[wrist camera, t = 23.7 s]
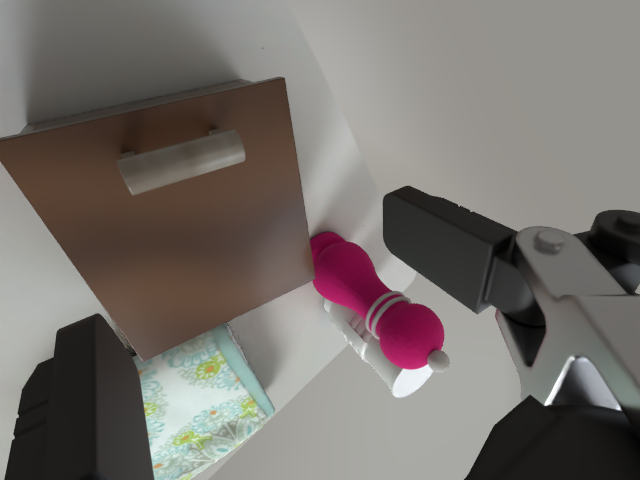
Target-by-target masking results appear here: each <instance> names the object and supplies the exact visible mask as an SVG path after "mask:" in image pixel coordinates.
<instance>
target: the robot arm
mask: <svg viewBox="0 0 640 480" xmlns="http://www.w3.org/2000/svg"><path fill="white" fill-rule="evenodd" d="M383 239H384V242H385V245H386V247H387V248H388V250H389V251H390V252H391V253H392V254H393V255H395V256H396V257H397V258H399V259H400V260H402V261H403V262H404V263H406V264H407V265H409V266H410V267H411V268H413V269H414V270H416V271H417V272H418V273H420V274H421V275H423V276H424V277H425V278H427V279H428V280H430V281H431V282H433V283H434V284H435V285H437V286H438V287H440V288H441V289H443V290H444V291H445V292H447V293H448V294H449V295H451V296H452V297H454V298H455V299H457V300H458V301H459V302H461V303H462V304H463V305H465V306H466V307H468V308H469V309H471V310H472V311H473V312H475V313H476V314H479V313H480V312H482V311H483V310H485V309H486V308H488V307H489V306H491V305H493V306H494V307H496V308H497V309H496V314H495V317H496V320H497V323H498V325H499V328H500V330H501V332H502V335H503V337H504V340H505V342H506V345H507V347H508V349H509V352H510V354H511V357H512V360H513V362H514V364H515V367H516V369H517V372H518V374H519V377H520V383H521V403H520V404H519V405H517V406H516V407H515V408H514V409H513V410H512V411H510V412H509V413H508V414H507V415H506V416H505V417H504V418H502V419H501V420H500V421H499V422H498V423H497V424H495V425H494V427H493V429H492V430H491V432H490V434H489V436H488V438H487V440H486V442H485V444H484V446H483V448H482V449H481V451H480V453H479V455H478V457H477V459H476V461H475V463H474V465H473V467H472V468H471V470H470V472H469V474H468V475H467V477H466V478H465V479H464V480H640V294H637V293H635V290H636V289H637V287H638V285H639V284H640V213H637V212H632V211H625V210H608V211H603V212H601V213H599V214H598V215H597V216H596V217H595V220H594V222H593V225H592V227H591V229H590V231H587V232H582V233H578V234H574V235H572V234H570V233H567V232H565V231H563V230H559V229H556V228H551V227H543V226H535V227H528V228H525V229H522V230H520V231H519V232H517V231H515V230H513V229H511V228H509V227H506V226H504V225H502V224H500V223H497V222H495V221H493V220H490V219H489V218H486V217H484V216H482V215H480V214H477V213H475V212H470V210H468V209H466V208H464V207H462V206H460V207H459V206H458V205H457V204H455V203H453V202H451V201H449V200H446V199H444V198H440V197H435V196H430V195H428V194H426V193H424V192H422V191H420V190H418V189H415V188H413V187H411V186H405V187H402V188H400V189H398V190H395V191H393V192H390V193H388V194H386V195H385V196H384V198H383ZM621 409H622V411H620V410H621ZM18 415H19V418H17V419H16V424H15V429H14V434H13V435H14V436H15V439H14V440H12V444H11V449H10V454H9V459H8V464H7V470H6V475H5V480H154V473H153V466H152V459H151V452H150V445H149V438H148V431H147V424H146V417H145V410H144V403H143V396H142V389H141V382H140V377H139V373H138V370H137V367H136V365H135V363H134V360H133V359H132V357H131V355H130V354H129V352H128V351H127V349H126V348H125V347H124V345H123V344H122V342H121V341H120V340H119V338H118V337H117V336H116V334H115V333H114V331H113V330H112V329H111V327H110V326H109V324H108V323H107V322H106V320H105V319H104V318H103V317H102V316H101V315H100V314H98V313H97V314H94V315H92V316H89V317H87V318H85V319H82V320H80V321H77V322H75V323H73V324H70V325H68V326H65V327H63V328H61V329H59V330H58V331H57V334H56V342H55V350H54V357H53V358H51V359H48V360H46V361H44V362H42V363H39V364H38V365H37V367H36V368H35V370H34V372H33V373H32V375H31V376H30V378H29V380H28V381H27V383H26V384H25V386H24V388H23V389H22V394H21V399H20V404H19V409H18Z"/></svg>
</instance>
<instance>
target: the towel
mask: <svg viewBox="0 0 640 480" xmlns="http://www.w3.org/2000/svg"><path fill="white" fill-rule="evenodd" d="M132 359H133V360H134V363H135V365H136V367H137V370H138V373H139V377H140V382H141V389H142V396H143V403H144V410H145V417H146V424H147V431H148V438H149V445H150V452H151V459H152V466H153V473H154V480H190V479H192V478H193V477H194V476H196V475H197V474H199V473H200V472H201V471H203V470H204V469H206V468H207V467H209V466H210V465H212V464H213V463H215V462H216V461H218V460H219V459H221V458H222V457H224V456H225V455H227V454H228V453H229V452H231V451H232V450H233V449H235V448H236V447H237V446H239V445H240V444H241V443H242V442H244V441H245V440H246V439H247V438H248V437H250V436H251V435H252V434H253V433H254V432H255V431H257V430H260V429H261V428H262V427H264V425H265V423H266V422H267V421H268V419H269V418H270V417H271V416H272V415H273V414H274V413H275V408H274V406H273V404H272V402H271V401H270V399H269V397H268V396H267V394H266V393H265V391H264V390H263V388H262V386H261V384H260V382H259V381H258V379H257V377H256V376H255V374H254V372H253V371H252V369H251V368H250V366H249V364H248V362H247V360H246V358H245V356H244V354H243V351H242V350H241V348H240V346H239V344H238V343H237V342H236V341H235V339H234V336H233V335H232V332H231V329H230V327H229V326H228V324H227V323H223V324H221V325H219V326H217V327H215V328H213V329H211V330H209V331H207V332H205V333H203V334H201V335H199V336H197V337H195V338H193V339H190V340H188V341H186V342H184V343H182V344H180V345H178V346H176V347H174V348H172V349H170V350H168V351H166V352H164V353H162V354H160V355H158V356H155V357H153V358H151V359H149V360H147V361H145V362H142V361H141V359H140V358H139V356H138V355H136V356H134V357H132Z"/></svg>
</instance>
